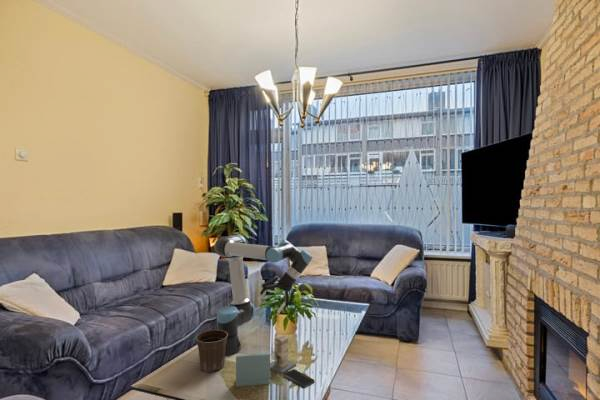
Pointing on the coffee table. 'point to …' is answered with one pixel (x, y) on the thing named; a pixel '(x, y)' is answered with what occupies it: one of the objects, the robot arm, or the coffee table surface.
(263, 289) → the robot arm
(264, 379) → the standing board
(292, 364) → the charcoal mat
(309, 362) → the coffee table surface
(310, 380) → the phone
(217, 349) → the plant pot
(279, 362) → the tall tan block
